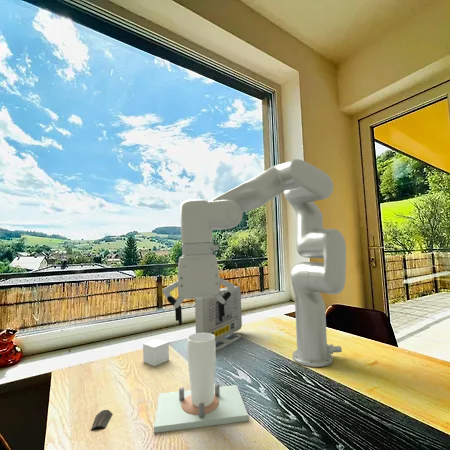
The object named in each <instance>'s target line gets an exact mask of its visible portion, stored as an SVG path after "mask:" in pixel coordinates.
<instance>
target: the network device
mask: <svg viewBox="0 0 450 450" xmlns="http://www.w3.org/2000/svg"><path fill="white" fill-rule="evenodd" d="M226 290H227V287H226V286H225V287H223V288H220V295H221V296H222V295H223V294H224V293H225V292H226ZM241 293H242V291H241V286H236V285H234V289H233V291H232V293H231V296H230V297H229V298H228V299H227V301H226V302H225V304H224V312H225V316H223V317H222V321H219V319H218V308H217V303H218V299H217V298H216V297H209V298H197V299H194V306H195V307H194V309H195V311H194V313H195V334H196V333H210V334H213V335H214V336H215V343H222V344H220V345H219V346H218V345H217V346H216V351H218V350H220V349H222V348H224V347H226V346H229V345H230V344H232V343H233V342H235V341H237V340H239V339H241V337H242V336H241V334H240V333H236V332H238V331H239V330H241V329H242V327H243V319H242V317H243V316H242V294H241ZM230 335H231V336H234V338H232V339H227V338H226V337H228V336H230Z"/></svg>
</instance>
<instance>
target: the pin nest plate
mask: <svg viewBox="0 0 450 450" xmlns="http://www.w3.org/2000/svg"><path fill="white" fill-rule="evenodd" d="M155 412H156V413H155V416H154V417H155V418H154V424H153V434H155V433H163V432H165V433H166V432H171V431H179V430H180V431H181V430H188V429H195V428H202V427H210V426H218V425H226V424H232V423H233V424H234V423H240V422H249V414H248V411H247V408H246V406H245V403H244V401H243V398H242V396H241V393H240V390H239V387H238V385H237V384H233V385H225V386H220V384H219V383H214V401H213V403H212V404H211V405H209V406H207V407H204V403H200V404H199V407H196V406H194V405H193V404H192V402H191V389H185V388H184V387H179V389H178V391H170V392H159V393H158V398H157V405H156V411H155Z"/></svg>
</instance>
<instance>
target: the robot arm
mask: <svg viewBox="0 0 450 450" xmlns="http://www.w3.org/2000/svg"><path fill="white" fill-rule="evenodd" d="M333 191H334V183H333V180H332V178H331V177H330V176H329V174H328V173H326V172H325V171H324V170H322V169H320V168H318V167H316V166H315V165H313V164H311V163H309V162H307V161H305V160H303V159H298V158H296V159H295V158H294V159H291V160H288V161H285V162H281V163H279V164H275V165H273V166H271V167H269V168H267V169H266V170H264V171H263V172H261V173H258V175H256V176H254V177H252V178H250V179H248V180H247V181H244V182H242V183H240V184H239V185H237V186H235V187H234V188H232V189H230V190H228V191H226V192H223V193H221V194H220V195H218V196H216V197H214V198H212V199H210V200H205V199H187V200H185V201H182V203H181V204H180V208H179V210H180V211H179V212H180V233H181V234H180V235H181V254H182V255H181V256H179V258H178V263H177V265H178V266H177V280H176V281H173V282H172V283H171V284H169V285H168V286H166V287H164V288H163V289H162V293H163V294H164V295H163V296H164V297H165V298H166V300H167V302H168V303H169V304H170V305H172V306H173V308H174V312H175V314H174V315H175V321H176V322H177V321H178V326H181V325H183V317H182V315H183V314H182V313H183V312H182V305H181V304H182V303H183V302H184V300H195V299H197V298H209V297H216V298H217V299H218V303H217V308H218V319H219V321H222V317H223V316H225V312H224V304H225V302H226V301H227V299H228V298H229V297H230V296H231V293H232V291H233V289H234V286H235V284H234V283H232V282H230V281H228V280H226V279H224V278H221V277H220V271H219V265H218V264H219V263H218V260H217V257H216V254H214V253H215V252H216V251H219V249H220V246H219V244H215V243H213V231H217V230H219V231H221V230H229V229H233V228H235V227H237V226H238V225H239V224H240V223H241V222H242V220H243V216H244V213H246V212H249V211H252V210H253V211H254V210H256V209H258V208H262V207H263V206H265V205H266V204H268V203H269V202H270V201H273V200H274V199H275V198H277V197H278V196H279V195H281V194H282V193H283V196H284V197H285V200H286V201H287V203H289V204H290V206H291V207H292V209H293V210H294V212H295V214H296V222H297V223H296V226H297V227H296V251H297V253H298V255H299V256H300V257H302V258H306V259H323V262H318V261H317V262H316V261H303V262H302V261H300V262H298V263H296V264H295V265H293V267H292V268H291V270H290V281H291V286H292V289H293V294H294V308H295V330H296V350H294V351H293V352H292V359H293V360H294V361H295V362H296V363H298V364H300V365H303V366H306V367H312V368H321V367H328V366H330V365H331V364H333V362H334V358H333V354H334V353H337V354H338V353H342V352H343V351H342V347H341V346H340V345H337V346H336V345H335V346H334V344H332V343H331V344H328V338H327V337H328V336H327V318H326V317H327V316H326V315H327V314H326V304H325V301H324V298H323V296H322V295H321V294H328V295H338V294H341V293H342V292H343V290H344V288H345V285H346V277H347V276H346V275H347V274H346V272H347V244H346V240H345V236H344V235H343V233H342V232H341V231H339V230H338V229H335V228H324V216H323V213H322V211H321V209H320V208H319V206H318V205H317V204H316V203H315V202H317V201H323V200H326V199H328V198H330V196H332V194H333ZM221 285H222V286H224V287H225V288H226V287H227V290H226V292H225V293H224V294H223V295H222V296H221V295H220V289H221ZM176 288H177V293H178V297H176V298H175V297H174V296H173V295H172V294H171V291H173V290H175V289H176Z"/></svg>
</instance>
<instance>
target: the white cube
mask: <svg viewBox="0 0 450 450" xmlns="http://www.w3.org/2000/svg"><path fill="white" fill-rule="evenodd" d="M169 344H170V343H169V341H166V340H162V339H160V338H155V339H153V340H150V341H147V342H144V343H142V346H143V347H142V350H143V351H142V360H143V361H142V362H143V363H145V364H147V365H150V366H152V367H156V366H158V365H159V366H160V365H161V364H163V363H165V362H168V361H169V360H170V350H169V349H170V347H169Z"/></svg>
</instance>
